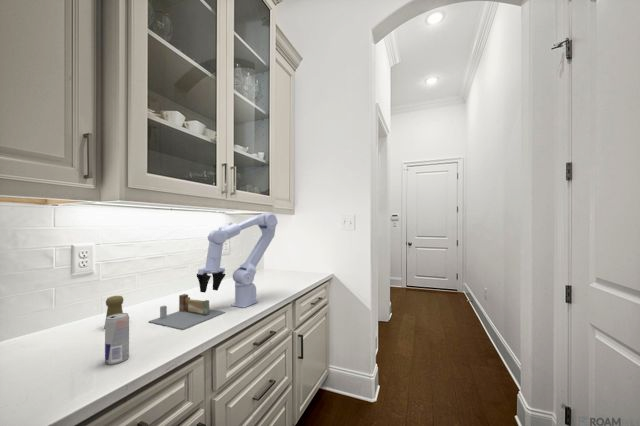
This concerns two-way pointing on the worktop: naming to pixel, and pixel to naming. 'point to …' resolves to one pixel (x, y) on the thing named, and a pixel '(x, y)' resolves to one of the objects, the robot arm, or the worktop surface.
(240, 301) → the robot arm
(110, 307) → the cork
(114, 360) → the energy drink
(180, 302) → the hinge post
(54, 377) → the worktop surface
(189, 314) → the mat
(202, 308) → the gate
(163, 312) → the post
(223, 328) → the worktop surface
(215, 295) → the worktop surface
